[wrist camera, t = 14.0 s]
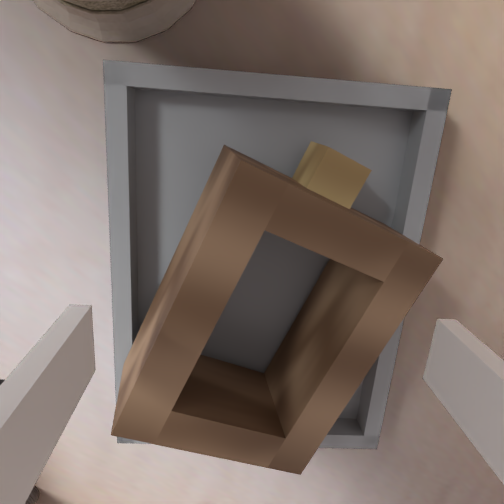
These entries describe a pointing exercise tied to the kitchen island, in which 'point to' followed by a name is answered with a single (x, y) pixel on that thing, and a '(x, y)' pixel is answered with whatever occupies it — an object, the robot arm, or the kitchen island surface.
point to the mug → (116, 17)
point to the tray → (277, 157)
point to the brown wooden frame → (300, 333)
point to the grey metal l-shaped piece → (33, 496)
